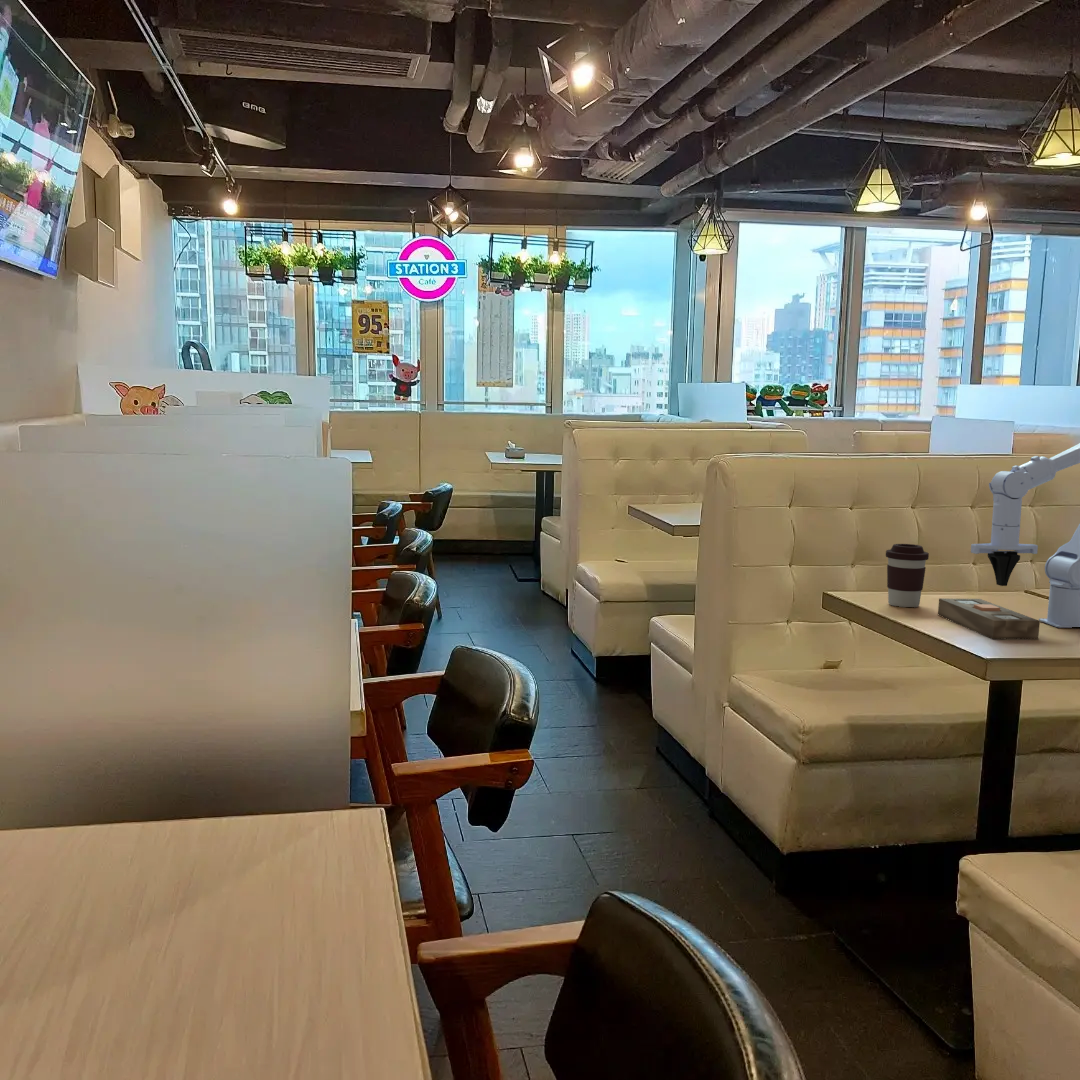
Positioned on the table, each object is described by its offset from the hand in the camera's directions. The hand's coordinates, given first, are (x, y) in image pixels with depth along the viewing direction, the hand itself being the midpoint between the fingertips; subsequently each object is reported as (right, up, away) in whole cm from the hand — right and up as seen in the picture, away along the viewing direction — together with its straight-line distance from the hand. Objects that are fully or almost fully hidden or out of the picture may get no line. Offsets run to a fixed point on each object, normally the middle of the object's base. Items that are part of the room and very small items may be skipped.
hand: (1001, 585), depth 225 cm
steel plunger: (-5, -7, +7) cm, 11 cm away
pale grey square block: (-4, -9, -10) cm, 14 cm away
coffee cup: (-14, -6, +23) cm, 27 cm away
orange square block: (-4, -8, -1) cm, 9 cm away
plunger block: (-4, -9, -1) cm, 10 cm away
